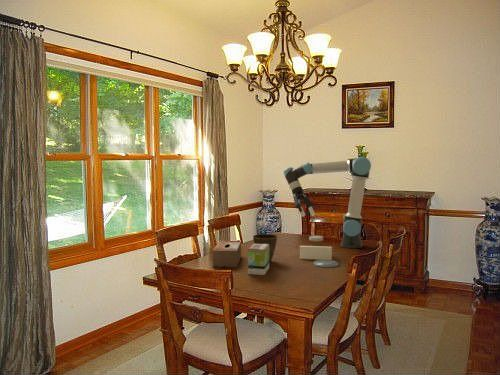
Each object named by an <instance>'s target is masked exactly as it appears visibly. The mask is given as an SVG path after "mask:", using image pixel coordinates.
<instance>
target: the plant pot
mask: <svg viewBox="0 0 500 375" xmlns="http://www.w3.org/2000/svg"><path fill="white" fill-rule="evenodd" d="M252 237H253V244H269V263H271V262H272V259H273V257H274V255H275V250H276V246H277V240H278V236H277V235H276V234H268V233H260V234H254V235H253V236H252Z"/></svg>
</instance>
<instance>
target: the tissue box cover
mask: <svg viewBox="0 0 500 375" xmlns="http://www.w3.org/2000/svg"><path fill="white" fill-rule="evenodd" d="M241 245H242V242H241V241H218V242H217V243H216V245H215V246H214V248H213V249H212V267H213V266H218V268H222V267H223V266H226V267H225V268H237V267H238V265H239V263H240V260H241V257H242V246H241ZM223 268H224V267H223Z"/></svg>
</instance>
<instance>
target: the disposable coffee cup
mask: <svg viewBox="0 0 500 375" xmlns="http://www.w3.org/2000/svg"><path fill="white" fill-rule="evenodd" d="M308 240H309V246H323V241H324V236H322V235H310V236H309V238H308Z"/></svg>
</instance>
